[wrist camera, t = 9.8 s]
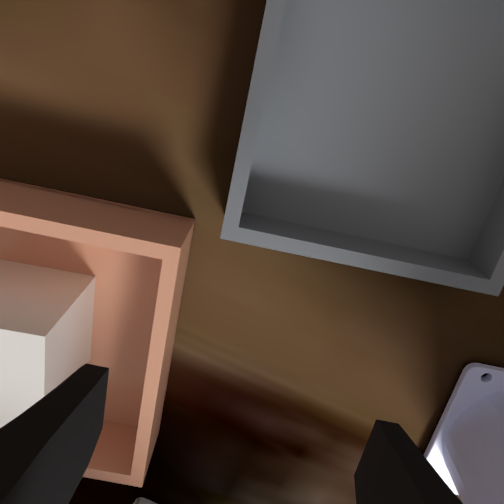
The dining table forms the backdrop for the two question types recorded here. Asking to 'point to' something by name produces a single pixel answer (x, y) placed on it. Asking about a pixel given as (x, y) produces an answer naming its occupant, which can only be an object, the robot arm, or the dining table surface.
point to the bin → (111, 302)
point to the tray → (377, 138)
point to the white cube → (41, 332)
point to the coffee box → (143, 501)
